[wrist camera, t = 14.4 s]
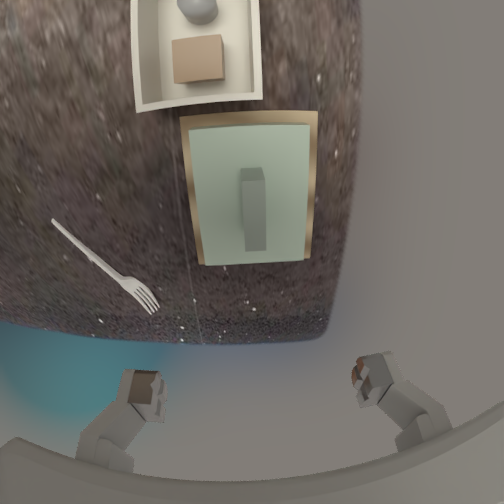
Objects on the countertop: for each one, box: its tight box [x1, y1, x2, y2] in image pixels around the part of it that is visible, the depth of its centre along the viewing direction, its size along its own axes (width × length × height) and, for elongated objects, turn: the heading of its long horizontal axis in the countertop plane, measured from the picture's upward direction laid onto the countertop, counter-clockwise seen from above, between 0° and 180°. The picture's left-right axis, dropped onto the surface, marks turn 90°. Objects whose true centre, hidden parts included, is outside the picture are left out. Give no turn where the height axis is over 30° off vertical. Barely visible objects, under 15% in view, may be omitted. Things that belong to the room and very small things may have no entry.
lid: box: [188, 122, 310, 266], centre depth 28 cm, size 15×11×6 cm
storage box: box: [131, 0, 263, 113], centre depth 18 cm, size 14×10×7 cm
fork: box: [51, 218, 160, 315], centre depth 34 cm, size 3×20×2 cm, turn 42°
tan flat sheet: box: [180, 110, 318, 264], centre depth 30 cm, size 18×14×1 cm
